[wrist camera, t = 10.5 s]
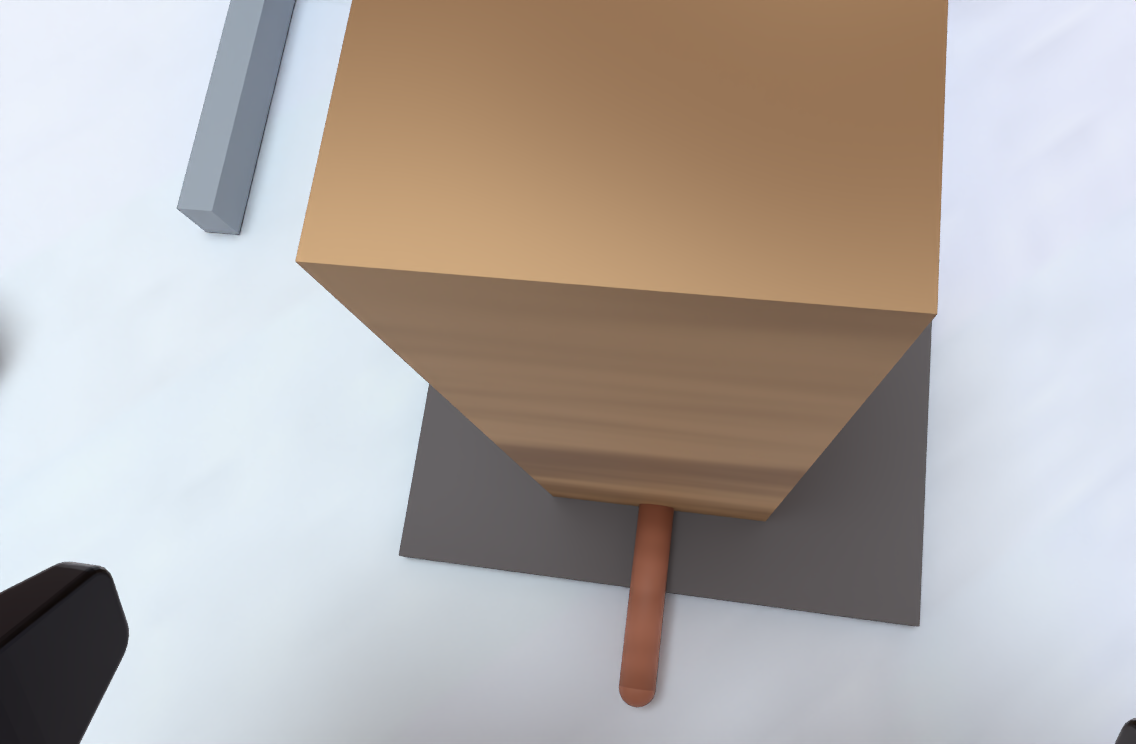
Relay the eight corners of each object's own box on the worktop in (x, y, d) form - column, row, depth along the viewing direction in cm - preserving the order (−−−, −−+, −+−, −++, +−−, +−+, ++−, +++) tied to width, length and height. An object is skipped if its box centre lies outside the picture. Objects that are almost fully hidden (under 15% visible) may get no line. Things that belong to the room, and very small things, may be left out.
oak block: (749, 722, 20) (913, 992, 6) (527, 688, 21) (167, 849, 6) (781, 316, 22) (955, -234, 8) (579, 299, 23) (402, -230, 9)
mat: (915, 625, 20) (919, 626, 20) (403, 556, 22) (398, 555, 22) (928, 310, 22) (932, 304, 22) (454, 270, 24) (450, 264, 24)
